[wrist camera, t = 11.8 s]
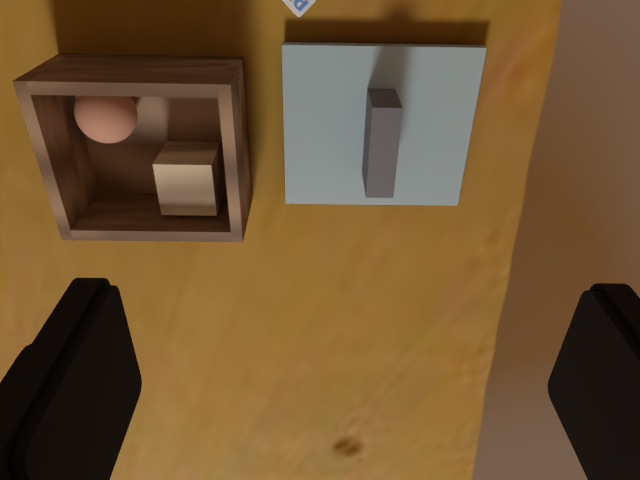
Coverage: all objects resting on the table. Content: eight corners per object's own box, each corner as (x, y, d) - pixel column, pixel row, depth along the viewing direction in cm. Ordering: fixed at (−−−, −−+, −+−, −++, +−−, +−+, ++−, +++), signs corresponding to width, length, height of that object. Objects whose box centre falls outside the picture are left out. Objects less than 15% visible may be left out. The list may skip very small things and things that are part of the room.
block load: (166, 141, 48) (152, 164, 44) (220, 142, 48) (211, 165, 44) (174, 188, 51) (161, 215, 46) (225, 189, 51) (216, 215, 47)
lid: (283, 38, 44) (277, 60, 38) (479, 41, 44) (505, 63, 38) (286, 193, 52) (282, 230, 46) (452, 194, 53) (470, 232, 47)
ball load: (81, 75, 44) (56, 93, 40) (139, 76, 45) (120, 94, 40) (94, 130, 47) (72, 152, 43) (148, 131, 47) (132, 153, 43)
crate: (58, 54, 44) (12, 81, 38) (243, 57, 45) (230, 84, 38) (94, 196, 52) (62, 239, 46) (252, 198, 52) (242, 242, 46)
